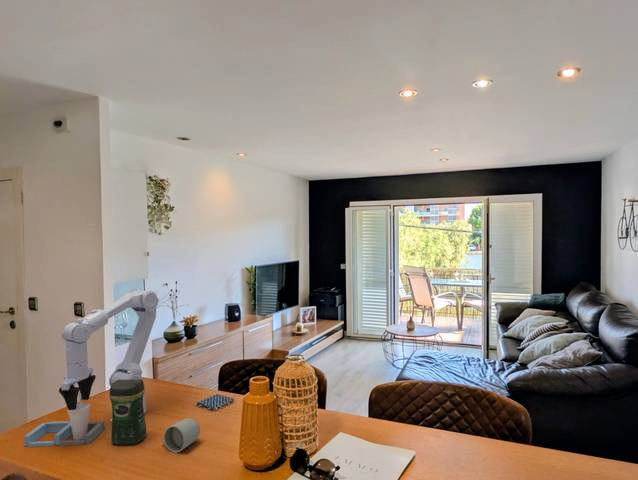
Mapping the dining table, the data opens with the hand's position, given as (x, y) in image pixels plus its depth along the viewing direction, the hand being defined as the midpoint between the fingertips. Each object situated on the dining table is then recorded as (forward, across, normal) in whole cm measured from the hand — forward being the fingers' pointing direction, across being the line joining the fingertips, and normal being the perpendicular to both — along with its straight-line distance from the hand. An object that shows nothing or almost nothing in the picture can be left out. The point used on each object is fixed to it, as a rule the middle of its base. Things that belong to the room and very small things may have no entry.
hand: (78, 404), depth 133 cm
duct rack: (+10, 0, -4) cm, 11 cm away
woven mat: (+11, -22, +38) cm, 45 cm away
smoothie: (+11, 0, 0) cm, 11 cm away
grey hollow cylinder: (+11, +8, +33) cm, 36 cm away
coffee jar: (+11, +3, +16) cm, 20 cm away
